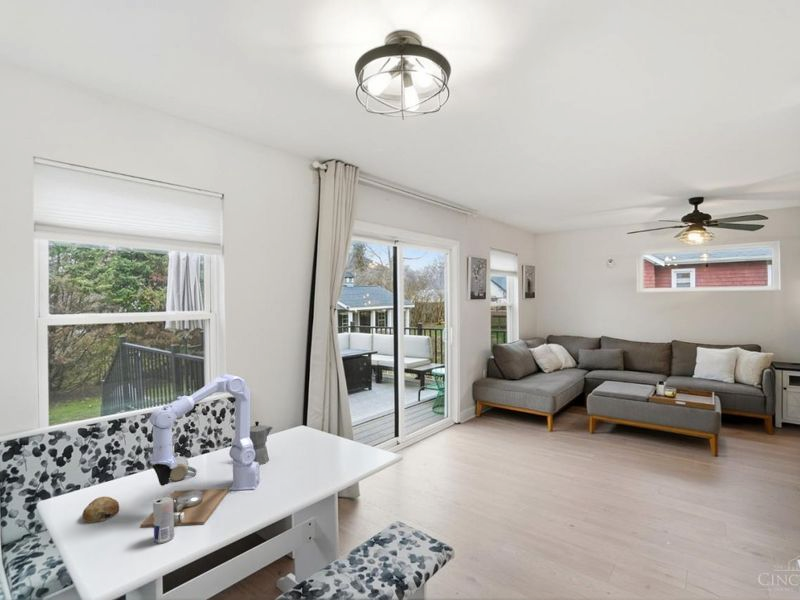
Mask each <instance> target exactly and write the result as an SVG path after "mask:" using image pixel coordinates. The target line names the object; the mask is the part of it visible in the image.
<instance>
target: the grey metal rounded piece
mask: <svg viewBox="0 0 800 600" xmlns="http://www.w3.org/2000/svg"><path fill="white" fill-rule="evenodd" d="M202 500H203V493H202V492H200V491H191V492H187V493H184V494H182V495H180V496H179V497H178V499H176V498H174V499H173V510H174V513H176V512H179V511H180V510H181V509H182V508H188V507H193V506H195V505H198V504H199V503H201V502H202ZM177 504H178V506H177Z"/></svg>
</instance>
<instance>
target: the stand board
mask: <svg viewBox="0 0 800 600" xmlns="http://www.w3.org/2000/svg"><path fill="white" fill-rule="evenodd" d="M191 491H200V492H202V493H203V500H202V502H201V503H199V504H198V505H195V506H193V507H188V508H182V509H181V510H180V511H179V512H176V513H174V527H178V526H179V527H180V526H181V527H183V526H198V525H199V526H201V525H205V523H207V521H208V520H209V519H210V517H211V516H212V515H213V513H214V511H216V510H217V507H218V506H219V505H221V503H222V502H223V500H224V498H225V497H226V496H227V495H228V493H229V492H230V488H226V487H225V488H209V489H208V488H207V489H204V488H203V489H185V490H184V489H182V490H174V491H173V492H172V493H171V494H170V495H169V496H171V497H172V499H174V498H176V499H178V497H179V496H180V495H182V494H184V493H187V492H191ZM177 506H178V504H177ZM140 528H141V529H142V528H154V517H153V512H151V514H150V515H149V516H148V517H147V518H146V519H145V520H143V521H142V522H141V523H140Z"/></svg>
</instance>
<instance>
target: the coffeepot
mask: <svg viewBox="0 0 800 600" xmlns="http://www.w3.org/2000/svg"><path fill="white" fill-rule="evenodd" d="M254 423H255V425H252V426H251V425H250V439H251V441H252V443H253V449H254V451H255V458H254V460H253V461H254V462H258V463H259V466H261V465H265V464H266V463H268V462H269V461H270V459H269V453H268V449H267V446H266V443H267V441H268V436H269V433H270V432H271V431H272V430H273V427H272V426H267V425H266V424H259V423H260V421H257V420H256V421H255V422H254Z"/></svg>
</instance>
